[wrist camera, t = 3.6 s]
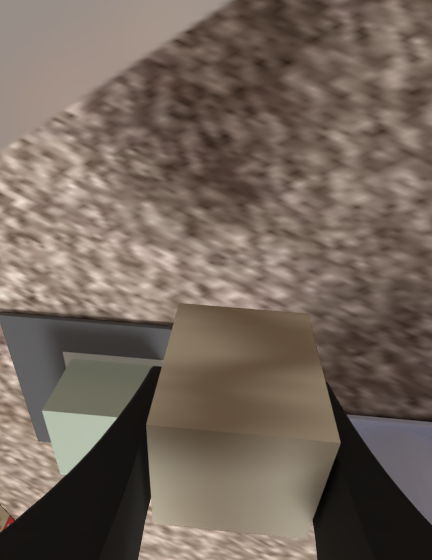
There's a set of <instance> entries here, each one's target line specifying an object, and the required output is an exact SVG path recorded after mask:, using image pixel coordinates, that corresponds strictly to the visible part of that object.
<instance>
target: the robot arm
mask: <svg viewBox="0 0 432 560" xmlns="http://www.w3.org/2000/svg"><path fill="white" fill-rule="evenodd" d="M161 368H162V367H161V366H153V367H152V368H151V369H150V370H149V372H148V374H147V376H146V377H145V379H144V381H143V382H142V384H141V385H140V387H139V388H138V390H137V391H136V393H135V394H134V396H133V397H132V399H131V400H130V401H129V403H128V404H127V405H126V407H125V408H124V410H123V411H122V412H121V414H120V415H119V416H118V418H117V419H116V420H115V421H114V423H113V424H112V425H111V426H110V428H109V429H108V430H107V431H106V432H105V434H104V435H103V436H102V437H101V438H100V440H99V441H98V442H97V443H96V444H95V445H94V446H93V448H92V449H91V450H90V451H89V452H88V453H87V454H86V455H85V456H84V457H83V458H82V459H81V460H80V462H79V463H78V464H77V465H76V466H75V467H74V468H73V469H72V470H71V471H70V472H69V473H68V474H67V475H66V476H65V477H63V478H62V479H61V480H60V481H59V482H58V483H57V484H56V485H55V486H54V487H53V488H52V489H51V490H50V491H49V492H48V493H47V494H45V495H44V496H43V497H42V498H41V499H40V500H38V501H37V502H36V503H35V504H34V505H33V506H31V507H30V508H29V509H28V510H27V511H26V512H24V513H23V514H22V515H21V516H20V517H19V518H17V519H16V520H15V521H14V522H13V523H11V524H10V525H9V526H8V527H6V528H5V529H4V530H2V531H1V532H0V560H138V556H139V551H140V546H141V540H142V535H143V530H144V524H145V519H146V515H147V511H148V507H149V503H150V499H151V488H150V473H149V459H148V444H147V430H146V423H147V420H148V416H149V412H150V409H151V405H152V401H153V398H154V394H155V390H156V387H157V383H158V379H159V375H160V372H161ZM325 382H326V381H325ZM326 386H327V390H328V394H329V398H330V402H331V406H332V410H333V414H334V418H335V422H336V426H337V430H338V434H339V438H340V442H341V443H340V446H339V449H338V452H337V454H336V457H335V460H334V463H333V465H332V468H331V471H330V474H329V476H328V479H327V482H326V485H325V487H324V490H323V493H322V496H321V498H320V501H319V504H318V506H317V509H316V512H315V515H314V517H313V526H314V532H315V540H316V550H317V560H432V422H426V421H415V420H404V419H392V418H381V417H370V416H359V415H348V414H346V413H345V411H344V410H343V408H342V406H341V405H340V403H339V401H338V400H337V398H336V396H335V394H334V393H333V391H332V389H331V388H330V386H329V384H328V383H327V382H326Z"/></svg>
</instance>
